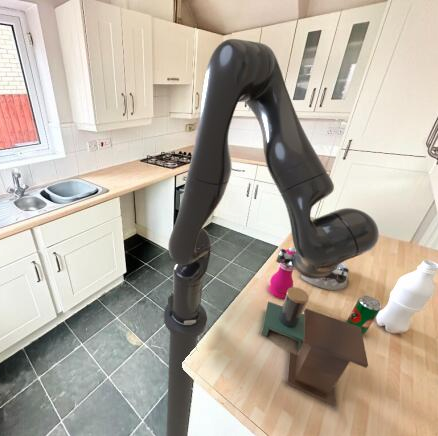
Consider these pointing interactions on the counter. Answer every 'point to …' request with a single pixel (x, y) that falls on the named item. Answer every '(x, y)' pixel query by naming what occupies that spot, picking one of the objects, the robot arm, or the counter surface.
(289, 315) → the spice jar
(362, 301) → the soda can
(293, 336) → the low shelf
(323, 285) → the dog bowl
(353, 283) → the counter surface
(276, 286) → the pepper mill
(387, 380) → the counter surface
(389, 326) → the water bottle
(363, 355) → the wooden pedestal table
